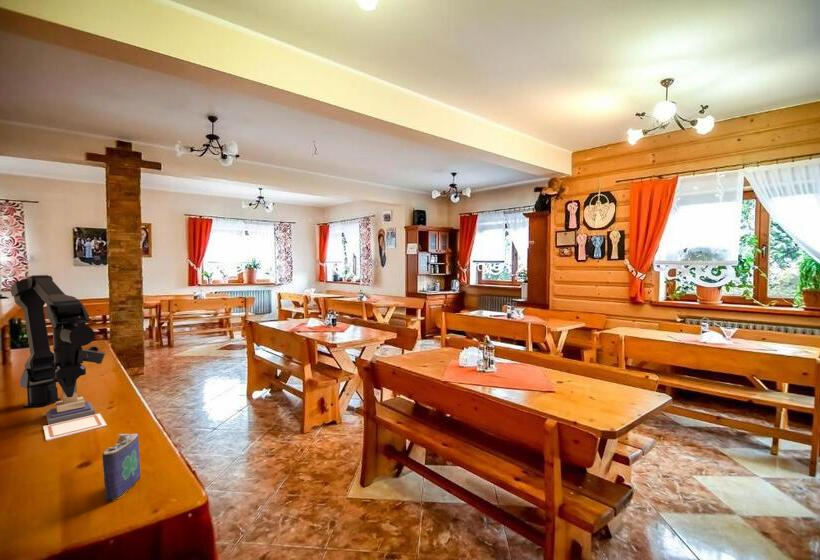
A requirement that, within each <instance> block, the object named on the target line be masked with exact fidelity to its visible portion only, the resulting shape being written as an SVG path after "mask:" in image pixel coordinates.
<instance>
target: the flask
mask: <svg viewBox="0 0 820 560" xmlns="http://www.w3.org/2000/svg"><path fill="white" fill-rule="evenodd" d="M139 436H140V435H139V434H138V433H131V434H130V433H119V434H117V437H119V438H118V439H117V441H116V444H114V445H113V446H110V447H108V448H107V449H105V450H104V451H103V453H102V457H101V458H102V466H103V483H104V489H105V490H104V493H105V494H104V495H105V500H106V501H105V503H111V502H110V501H113V502H115V501H114V500H115V499H117V498H119V497H120V496H122V495H123V494H124V493H125V492H126V491H127V490H129V489H130V488H131V487H132V488H133V487H134V486H135V485H136V484H137V483H138V482H139V480H140V479H141V475H142V474H141V473H142V472H141V461H140V442H139V441H140V440H139V439H140V438H139ZM137 481H138V482H137ZM136 482H137V483H136ZM135 483H136V484H135ZM134 484H135V485H134ZM132 488H131V489H132ZM122 497H123V496H122ZM119 499H120V498H119Z"/></svg>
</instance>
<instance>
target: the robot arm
mask: <svg viewBox="0 0 820 560" xmlns="http://www.w3.org/2000/svg"><path fill="white" fill-rule="evenodd" d="M10 294H11V295H10V296H12V297H13V298H14V299H13V300H14V303H15V304H16V305H17V306H18V307H19V308H21V310H23V314H24V315H23V316H24V322H25V329H26V333H27V335H26V336H27V340H28V341H27V342H28V347H29V354H30V355H29V357H28V358H27V360H26V361H25V364H24V369H23V372H22V374H21V377H20V379H19V383H20V387H21V388H24V389H25V390H26V393H27V396H26V397H27V403H26V404H23V405H22V407H23V408H27V407H28V408H31V407H34V408H35V407H45V406H48V405H50V404H53V403H56V402H58V401H62V398H61V397H59V392H58V387H57V383H58V384H59V386H60V387H61V389H63V391H64V392H65V394H66V396H67V397H72V396H73V393H74V388H75V384H76V381H77V380H78V379H79V378H80V377H81V376H85V375H87V369H86V368H87V367H85V365H83V364H84V362H88V363H95V364H98V365H101V364H102V363H103V360H104V358H105V356H106V353H105V352H104V351H101V350H99V348H98V347H97V346H95V345H94V346H93V345H92V346H90V347H89V348H83V347H84V346H88V345H90V344H91V343H92V342H93V341H94V339H95V335H96V334H95V331H94V329H93V328H92V327H90V326H89V325H86V323H89V322H90V319H89V318H90V316H89V313H88V312H87V309H86V308H85V306H84V304H83V303H82V302H81V301H80V300H79V299H78V298H77V297H75V296H73V295H67V294H66V293H65V292H63V290H62V289H61V288H60V287H59V286H58V285H57V284H56V283H55V281H54V280H53V276H52V275H48V274H39V275H38V274H36V275H35V274H33V275H30V276H27V278H24V279H20V280H17V281H15V282H14V283H13V284H12V285H11V286H10ZM45 305H46V306H45ZM44 307H45V308H44ZM45 314H46V315H45ZM46 317H47V319H48V320H49V321H50V322H49V323H51V327H52V339H53V341H52V343H53V347H52V350H53V351H51V346H50V340H49V334H48V329H47V321H46Z"/></svg>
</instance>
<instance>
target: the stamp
mask: <svg viewBox="0 0 820 560" xmlns="http://www.w3.org/2000/svg"><path fill="white" fill-rule="evenodd" d="M77 385H78V382H77V380H76V384H75V388H74V393H73V396H72V397H67V396H66V394H65V392H64V391H63V389H62V388H61V389H62V390H61V391H62V393H61V394H62V400H58V401H56V402H55V408H56V409H57V413H58V414H59V413H63V412H68V411H73V410H77V409H82V408H84V407H85V402H86V400H85V399H84V397H83V396H78V386H77Z"/></svg>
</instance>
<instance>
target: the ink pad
mask: <svg viewBox="0 0 820 560" xmlns="http://www.w3.org/2000/svg"><path fill="white" fill-rule="evenodd" d="M95 414H96V410H95V408H94V406H93V405H92V403H91V401H86V400H85V407H84V408H82V409H77V410H73V411H68V412H63V413H59V414H58V413H57V409H56V407H52V408H49V410H48V409H47V410H45V416H46V420H47V424H48V425H51V424H55V423H60V422H64V421H69V420H73V419H77V418H82V417H86V416H91V415H95Z"/></svg>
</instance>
